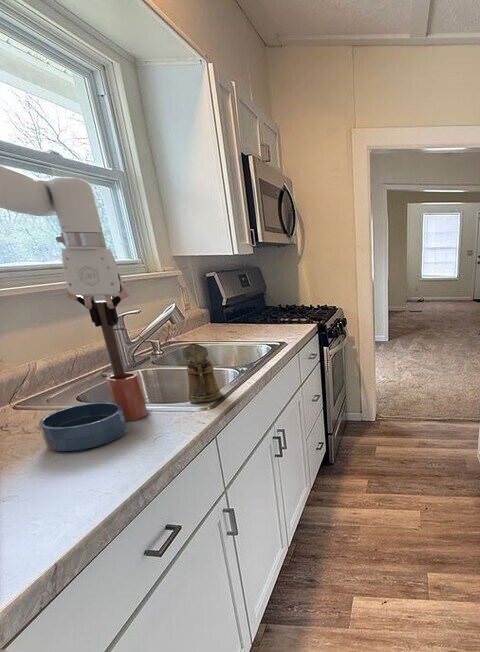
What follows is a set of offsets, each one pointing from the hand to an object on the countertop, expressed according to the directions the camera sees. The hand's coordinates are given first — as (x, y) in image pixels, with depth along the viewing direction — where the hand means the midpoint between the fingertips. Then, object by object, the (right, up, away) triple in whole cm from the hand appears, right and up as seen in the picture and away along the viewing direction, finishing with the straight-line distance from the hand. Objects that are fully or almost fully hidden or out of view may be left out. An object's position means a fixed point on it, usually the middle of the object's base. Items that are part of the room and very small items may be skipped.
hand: (106, 324), depth 96 cm
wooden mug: (+15, -18, +20) cm, 30 cm away
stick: (0, -13, +6) cm, 15 cm away
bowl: (-2, -27, -3) cm, 27 cm away
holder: (0, -22, +10) cm, 24 cm away
